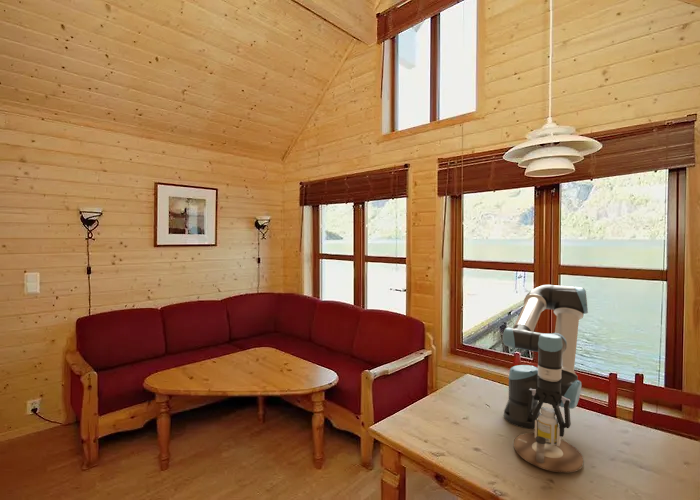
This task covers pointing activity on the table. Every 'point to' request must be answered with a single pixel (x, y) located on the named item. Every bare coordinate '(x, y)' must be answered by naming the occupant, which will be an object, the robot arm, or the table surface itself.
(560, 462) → the disc
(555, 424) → the pill bottle
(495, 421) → the table surface
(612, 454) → the table surface
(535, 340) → the robot arm
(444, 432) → the table surface
